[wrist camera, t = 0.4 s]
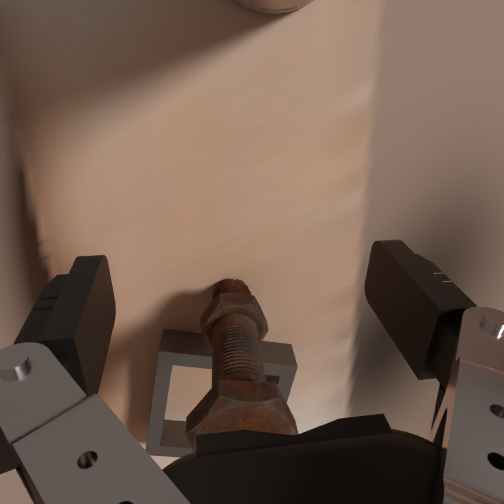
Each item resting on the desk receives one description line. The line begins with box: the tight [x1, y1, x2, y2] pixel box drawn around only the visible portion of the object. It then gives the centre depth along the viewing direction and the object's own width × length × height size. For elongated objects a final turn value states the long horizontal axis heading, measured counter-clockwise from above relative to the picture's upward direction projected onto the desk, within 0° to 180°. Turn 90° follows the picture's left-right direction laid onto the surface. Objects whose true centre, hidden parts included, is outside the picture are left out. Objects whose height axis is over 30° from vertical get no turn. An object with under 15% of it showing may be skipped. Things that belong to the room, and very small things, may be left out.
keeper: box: [145, 329, 298, 457], centre depth 36 cm, size 11×11×3 cm
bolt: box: [185, 279, 298, 452], centre depth 27 cm, size 6×5×15 cm
